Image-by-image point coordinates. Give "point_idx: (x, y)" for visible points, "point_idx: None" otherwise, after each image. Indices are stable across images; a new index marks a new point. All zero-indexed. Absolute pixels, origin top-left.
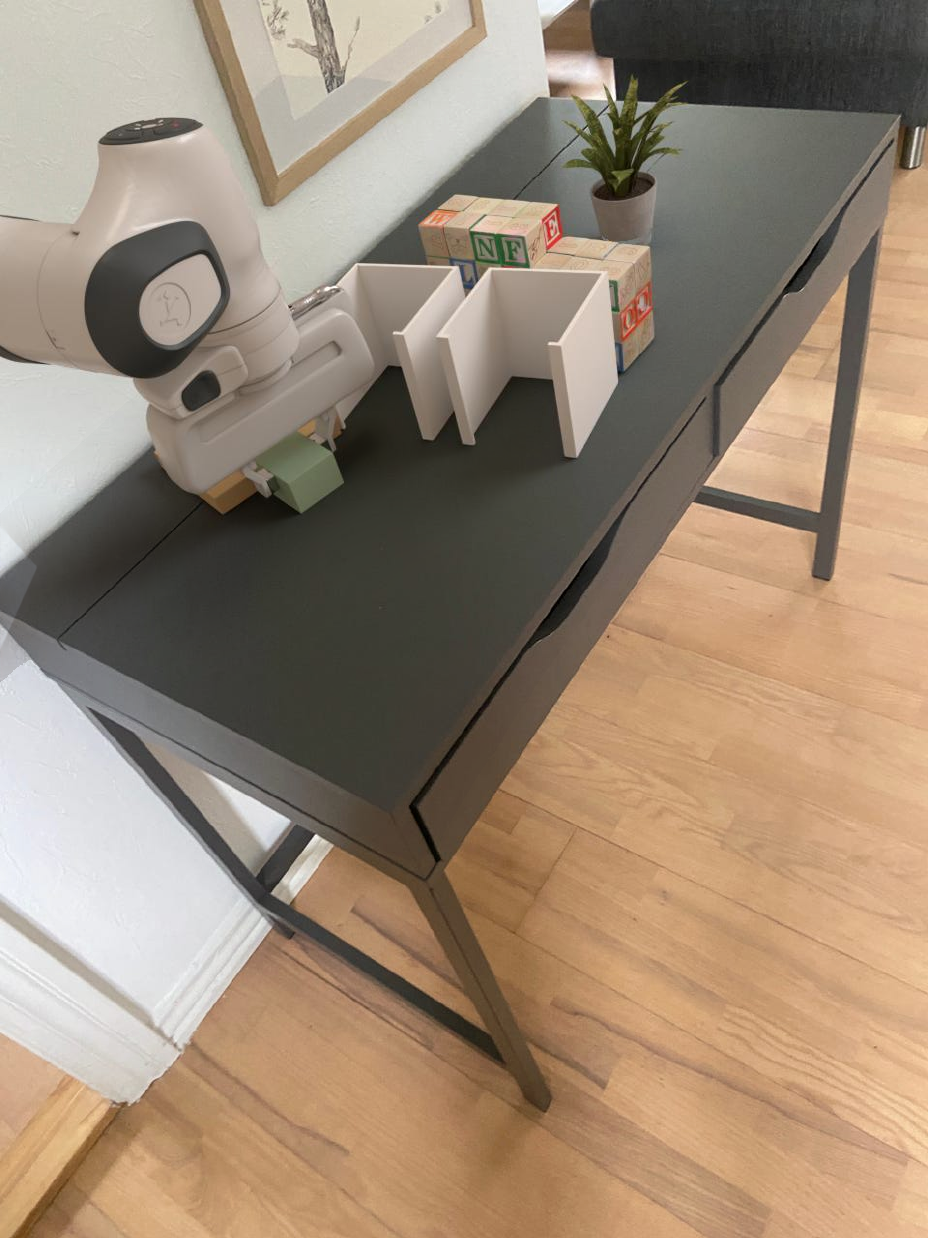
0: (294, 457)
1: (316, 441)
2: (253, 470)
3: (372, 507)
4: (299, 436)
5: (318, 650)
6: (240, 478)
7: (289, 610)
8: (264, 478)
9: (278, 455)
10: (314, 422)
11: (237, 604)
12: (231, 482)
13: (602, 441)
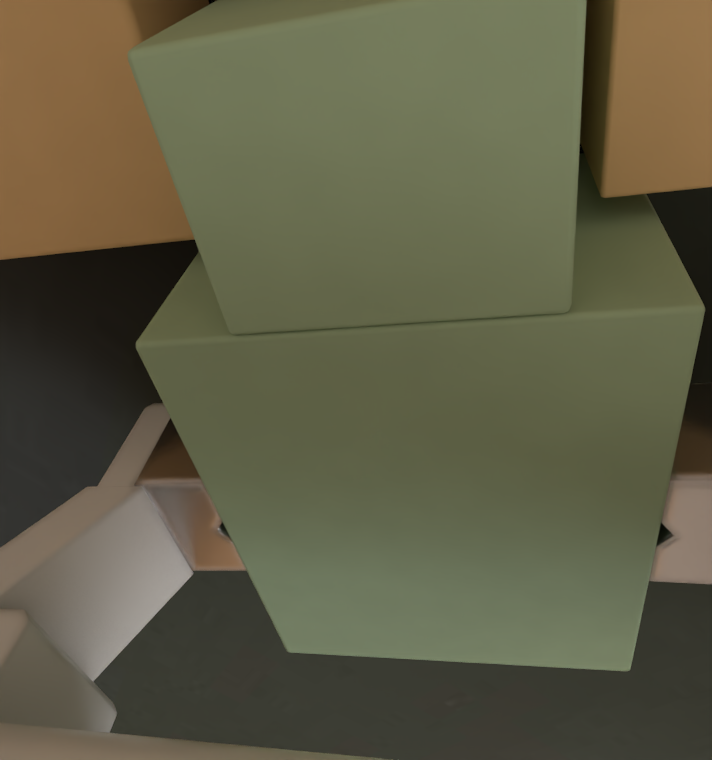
0: (430, 564)
1: (666, 550)
2: (161, 226)
3: None
4: (637, 422)
5: (188, 739)
6: (46, 229)
7: (156, 672)
8: (175, 592)
9: (349, 478)
10: None
11: None
12: None
13: None
